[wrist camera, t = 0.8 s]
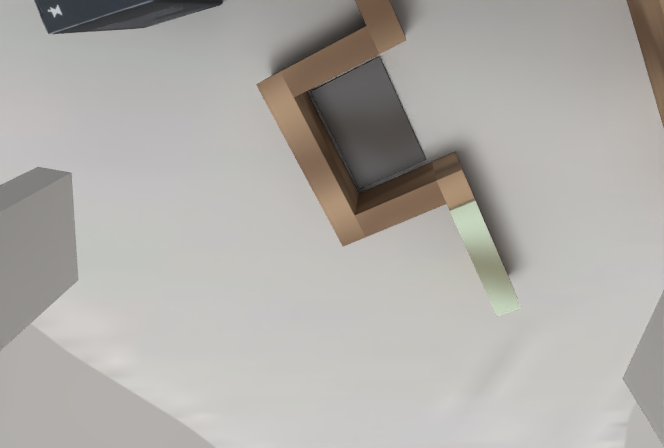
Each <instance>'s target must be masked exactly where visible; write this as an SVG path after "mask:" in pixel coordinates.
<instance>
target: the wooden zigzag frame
mask: <svg viewBox="0 0 664 448" xmlns="http://www.w3.org/2000/svg"><path fill="white" fill-rule="evenodd" d="M355 1H356V3H357V6H358V8H359V10H360V12H361V15H362V17H363V19H364V21H365V23H366V26H364V27H362V28H361V29H359V30H357V31H355V32H353V33H351V34H349V35H347V36H345V37H344V38H342V39H340V40H338V41H336V42H334V43H332V44H330V45H329V46H327V47H325V48H323V49H321V50H319V51H317V52H315V53H313V54H312V55H310V56H308V57H306V58H304V59H302V60H300V61H298V62H297V63H295V64H293V65H291V66H289V67H287V68H285V69H283V70H281V71H280V72H278V73H276V74H274V75H272V76H270V77H269V78H267V79H265V80H263V81H262V82H260V83H258V84H256V85H257V87H258V89H259V91H260V92H261V94H262V96H263V98H264V100H265V102H266V104H267V105H268V107H269V109H270V111H271V113H272V115H273V117H274V119H275V120H276V122H277V124H278V126H279V128H280V130H281V132H282V133H283V135H284V137H285V139H286V141H287V143H288V145H289V147H290V148H291V150H292V152H293V154H294V156H295V158H296V160H297V162H298V163H299V165H300V167H301V169H302V171H303V173H304V175H305V176H306V178H307V180H308V182H309V184H310V186H311V188H312V190H313V191H314V193H315V195H316V197H317V199H318V201H319V203H320V204H321V206H322V208H323V210H324V212H325V214H326V216H327V218H328V219H329V221H330V223H331V225H332V227H333V229H334V231H335V233H336V234H337V236H338V238H339V240H340V242H341V244H342V246H345V245H348V244H350V243H353V242H355V241H357V240H360V239H362V238H365V237H367V236H370V235H372V234H374V233H377V232H379V231H382V230H384V229H387V228H389V227H391V226H394V225H396V224H399V223H401V222H404V221H406V220H408V219H411V218H413V217H416V216H418V215H420V214H423V213H425V212H428V211H430V210H433V209H435V208H437V207H440V206H442V205H445V204H447V205H448V208H449V210H450V213H451V215H452V217H453V219H454V222H455V224H456V226H457V228H458V231H459V233H460V235H461V237H462V239H463V242H464V244H465V246H466V248H467V251H468V253H469V255H470V257H471V259H472V262H473V264H474V266H475V268H476V271H477V273H478V275H479V277H480V279H481V282H482V284H483V286H484V288H485V290H486V293H487V295H488V297H489V299H490V302H491V304H492V306H493V308H494V310H495V313H496V315H497V316H500V315H503V314H506V313H509V312H512V311H515V310H518V309H521V305H520V303H519V301H518V298H517V296H516V293H515V291H514V289H513V286H512V284H511V281H510V279H509V277H508V274H507V272H506V270H505V267H504V265H503V263H502V260H501V258H500V256H499V253H498V251H497V249H496V246H495V244H494V242H493V239H492V237H491V235H490V232H489V230H488V228H487V226H486V223H485V221H484V219H483V216H482V214H481V212H480V209H479V207H478V205H477V202H476V200H475V198H474V195H473V193H472V191H471V188H470V186H469V184H468V181H467V179H466V177H465V174H464V172H463V170H462V167H461V165H460V163H459V160H458V158H457V156H456V153H455V152H454V153H451V154H449V155H447V156H445V157H442V158H440V159H438V160H435V161H433V162H431V163H429V164H426V165H424V166H422V167H419V168H417V169H415V170H413V171H410V172H408V173H406V174H403V175H401V176H399V177H397V178H394V179H392V180H390V181H388V182H385V183H383V184H381V185H378V186H376V187H374V188H372V189H369V190H367V191H365V192H362V193H360V194H358V192H357V190H356V188H355V186H354V184H353V182H352V180H351V178H350V176H349V174H348V172H347V170H346V168H345V166H344V164H343V162H342V160H341V158H340V156H339V154H338V152H337V150H336V148H335V147H334V145H333V143H332V141H331V139H330V137H329V135H328V133H327V131H326V129H325V127H324V125H323V123H322V121H321V119H320V117H319V115H318V113H317V111H316V109H315V107H314V105H313V103H312V101H311V99H310V97H309V95H308V93H307V91H308V90H310V89H312V88H314V87H316V86H318V85H320V84H321V83H323V82H325V81H327V80H329V79H331V78H333V77H335V76H337V75H339V74H341V73H343V72H345V71H347V70H349V69H351V68H353V67H355V66H357V65H359V64H361V63H363V62H365V61H366V60H368V59H370V58H372V57H374V56H376V55H378V54H380V53H382V52H384V51H386V50H388V49H390V48H392V47H394V46H396V45H398V44H400V43H402V42H404V41H406V38H405V35H404V33H403V30H402V28H401V26H400V23H399V21H398V19H397V16H396V14H395V12H394V9H393V7H392V5H391V2H390V0H355ZM627 2H628V6H629V9H630V13H631V16H632V20H633V23H634V27H635V30H636V33H637V37H638V40H639V44H640V47H641V51H642V54H643V57H644V61H645V64H646V68H647V71H648V75H649V78H650V82H651V85H652V88H653V92H654V95H655V99H656V102H657V106H658V109H659V113H660V116H661V119H662V123H663V126H664V0H627ZM311 93H312V95H313V97H314V99H315V101H316V103H317V105H318V107H319V109H320V111H321V113H322V115H323V117H324V119H325V121H326V123H327V125H328V127H329V129H330V131H331V133H332V135H333V137H334V139H335V141H336V143H337V145H338V147H339V149H340V151H341V153H342V155H343V157H344V159H345V161H346V163H347V165H348V166H349V168H350V170H351V172H352V174H353V176H354V178H355V180H356V182H357V184H358V186H359V188H360V189H361V188H363V187H365V186H367V185H370V184H372V183H374V182H376V181H379V180H381V179H383V178H385V177H388V176H390V175H392V174H395V173H397V172H399V171H401V170H404V169H406V168H408V167H410V166H413V165H415V164H417V163H419V162H422V161H424V160H426V159H425V157H424V155H423V152H422V150H421V148H420V146H419V143H418V141H417V139H416V137H415V135H414V132H413V130H412V128H411V126H410V123H409V121H408V119H407V117H406V115H405V112H404V110H403V108H402V106H401V104H400V101H399V99H398V97H397V95H396V92H395V90H394V88H393V86H392V84H391V81H390V79H389V77H388V75H387V73H386V70H385V68H384V66H383V64H382V61H381V59H380V57H378V58H376V59H374V60H372V61H370V62H368V63H366V64H364V65H362V66H360V67H358V68H356V69H354V70H352V71H350V72H348V73H346V74H344V75H342V76H340V77H338V78H336V79H335V80H333V81H331V82H329V83H327V84H325V85H323V86H321V87H319V88H317V89H315V90H313V91H311Z"/></svg>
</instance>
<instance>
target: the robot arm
mask: <svg viewBox="0 0 664 448" xmlns="http://www.w3.org/2000/svg"><path fill="white" fill-rule="evenodd" d="M77 281H78V268H77V253H76V237H75V221H74V205H73V190H72V174H71V173H70V172H64V171H59V170H53V169H47V168H41V167H37V168H35V169H33V170H31V171H29V172H26V173H24V174H22V175H20V176H18V177H16V178H14V179H12V180H10V181H8V182H6V183H4V184H2V185H0V351H1V350H2V349H3V348H4V347H5V346H6V345H7V344H8V343H9V342H10V341H12V340H13V339H14V338H15V337H16V336H17V335H18V334H19V333H20V332H22V331H23V329H25V328H26V327H27V326H28V325H29V324H30V323H31V322H33V321H34V320H35V319H36V318H37V317H38V316H39V315H40V314H41V313H42V312H44V311H45V310H46V309H47V308H48V307H49V306H50V305H51V304H52V303H53V302H55V301H56V300H57V299H58V298H59V297H60V296H61V295H62V294H63V293H64V292H66V291H67V290H68V289H69V288H70V287H71V286H72V285H73V284H74V283H75V282H77ZM623 380H624V382H625V383H626V385H627V387H628V388H629V390H630V392H631V393H632V395H633V396H634V398H635V400H636V401H637V403H638V405H639V406H640V408H641V410H642V411H643V413H644V414H645V416H646V418H647V419H648V421H649V423H650V424H651V426H652V428H653V429H654V431H655V433H656V434H657V436H658V437H659V439H660V441H661V443H662V444H663V446H664V291H663V293H662V295H661V298H660V300H659V302H658V304H657V306H656V308H655V310H654V312H653V315H652V317H651V319H650V321H649V323H648V325H647V327H646V329H645V332H644V334H643V336H642V338H641V340H640V342H639V344H638V346H637V349H636V351H635V353H634V355H633V357H632V359H631V361H630V364H629V366H628V368H627V370H626V372H625V374H624V376H623Z"/></svg>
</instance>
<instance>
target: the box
mask: <svg viewBox="0 0 664 448" xmlns="http://www.w3.org/2000/svg"><path fill="white" fill-rule="evenodd" d="M34 2H35V4H36V6H37V8H38V11H39V14H40V16H41V19H42V22H43V24H44V26H45V28H46V31H47V32H48V34H59V33H61V34H63V33H76V32H89V31H105V30H123V29H136V28H145V27H149V26H152V25H155V24H159V23H162V22H165V21H169V20H172V19H175V18H178V17H181V16H185V15H188V14H192V13H195V12H198V11H201V10H205V9H208V8H212V7H215V6H219V5H221V4H222V0H34Z"/></svg>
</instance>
